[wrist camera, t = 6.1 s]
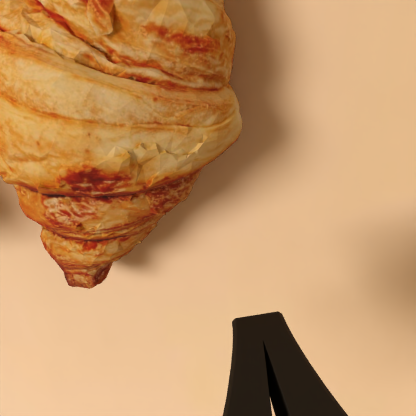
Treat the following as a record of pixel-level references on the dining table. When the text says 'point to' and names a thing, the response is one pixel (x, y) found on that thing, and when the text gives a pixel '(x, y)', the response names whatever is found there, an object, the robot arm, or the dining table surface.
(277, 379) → the robot arm
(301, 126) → the dining table surface
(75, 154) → the croissant
